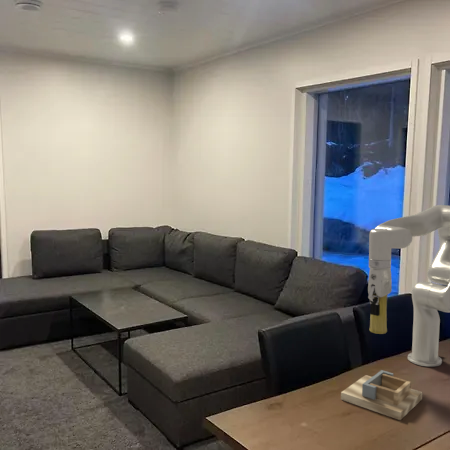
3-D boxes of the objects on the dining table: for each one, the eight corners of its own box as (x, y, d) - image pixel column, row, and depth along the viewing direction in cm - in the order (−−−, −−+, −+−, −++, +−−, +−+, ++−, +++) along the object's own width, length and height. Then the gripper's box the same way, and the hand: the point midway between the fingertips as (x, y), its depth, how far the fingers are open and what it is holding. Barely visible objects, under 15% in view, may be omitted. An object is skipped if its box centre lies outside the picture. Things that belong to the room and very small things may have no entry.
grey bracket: (381, 381, 168) (381, 370, 167) (393, 384, 165) (393, 373, 164) (362, 395, 157) (362, 383, 156) (374, 399, 154) (374, 387, 154)
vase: (389, 334, 172) (390, 295, 171) (371, 334, 173) (372, 295, 171) (384, 328, 179) (385, 290, 177) (367, 328, 179) (368, 290, 177)
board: (365, 381, 174) (366, 364, 173) (422, 399, 160) (422, 380, 160) (340, 399, 160) (341, 380, 160) (400, 420, 147) (401, 400, 146)
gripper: (379, 269, 164) (378, 321, 166) (399, 260, 176) (398, 309, 179) (358, 266, 169) (357, 316, 171) (380, 258, 181) (378, 305, 183)
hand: (378, 312), depth 175 cm, fingers closed on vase, 5 cm apart
